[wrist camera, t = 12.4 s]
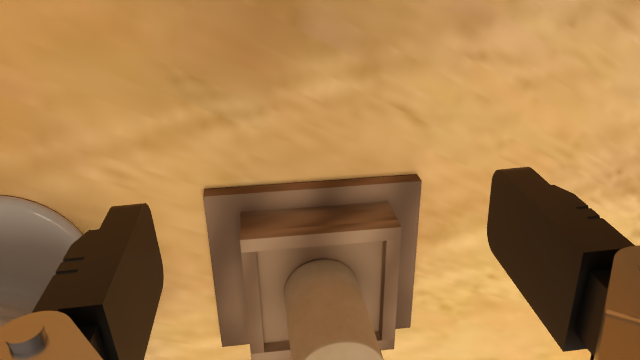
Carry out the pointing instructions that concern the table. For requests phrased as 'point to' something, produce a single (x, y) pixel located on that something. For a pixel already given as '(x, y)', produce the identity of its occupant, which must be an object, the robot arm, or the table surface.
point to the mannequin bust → (29, 253)
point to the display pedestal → (310, 252)
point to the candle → (328, 314)
